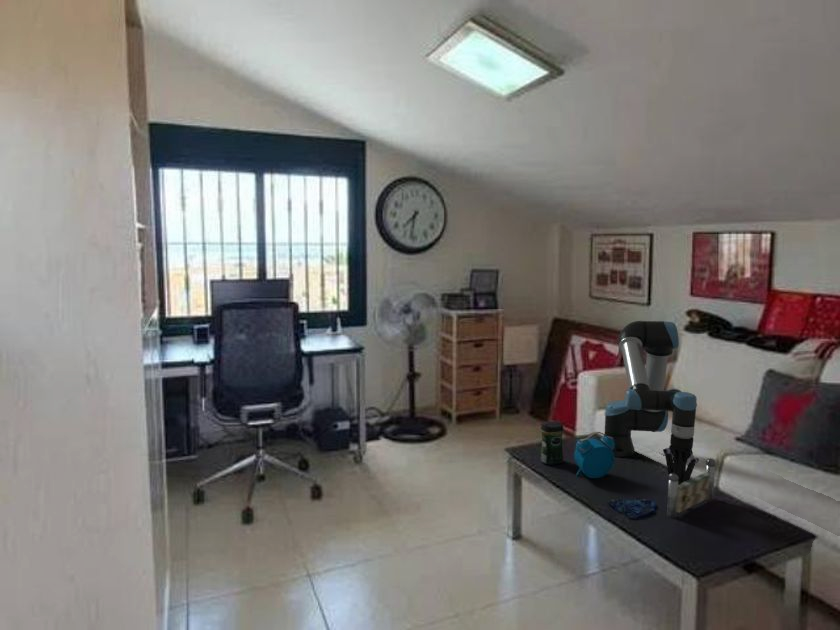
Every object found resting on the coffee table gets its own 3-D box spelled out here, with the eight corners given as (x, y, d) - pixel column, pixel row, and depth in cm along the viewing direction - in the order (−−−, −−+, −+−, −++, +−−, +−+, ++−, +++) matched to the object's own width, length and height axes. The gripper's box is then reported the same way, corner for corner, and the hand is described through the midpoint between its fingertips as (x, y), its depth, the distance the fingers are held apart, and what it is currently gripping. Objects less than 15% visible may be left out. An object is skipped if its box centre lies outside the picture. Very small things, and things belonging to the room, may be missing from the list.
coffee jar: (556, 457, 261) (557, 417, 259) (565, 464, 254) (566, 423, 251) (537, 460, 259) (538, 419, 256) (545, 466, 251) (546, 425, 249)
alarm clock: (603, 469, 247) (605, 424, 245) (617, 479, 237) (619, 432, 235) (568, 473, 243) (569, 427, 240) (580, 483, 233) (582, 435, 231)
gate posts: (706, 496, 221) (709, 456, 219) (715, 499, 218) (717, 459, 216) (664, 515, 206) (666, 472, 204) (673, 519, 203) (675, 475, 201)
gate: (703, 496, 218) (704, 472, 217) (712, 499, 215) (713, 475, 214) (674, 510, 206) (675, 485, 205) (683, 514, 203) (685, 489, 202)
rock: (603, 503, 216) (603, 498, 216) (642, 498, 221) (643, 493, 220) (627, 522, 202) (627, 516, 202) (668, 516, 207) (669, 511, 206)
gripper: (660, 432, 212) (655, 492, 216) (692, 442, 202) (687, 505, 206) (672, 428, 217) (667, 487, 220) (704, 438, 206) (698, 500, 210)
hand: (677, 496), depth 213 cm, fingers closed
